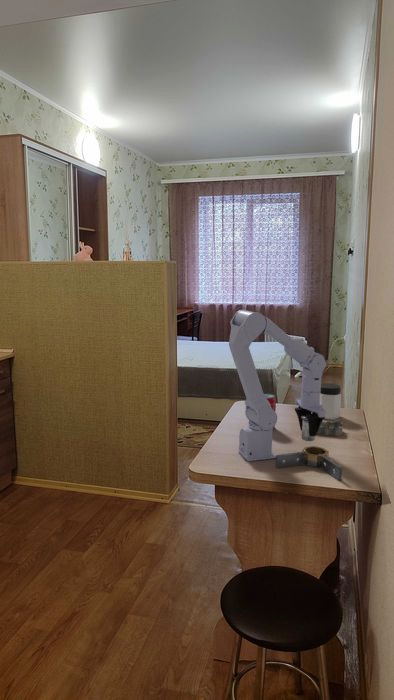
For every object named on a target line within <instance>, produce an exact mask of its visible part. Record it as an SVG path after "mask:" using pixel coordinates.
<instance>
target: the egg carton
mask: <svg viewBox="0 0 394 700" xmlns="http://www.w3.org/2000/svg"><path fill="white" fill-rule="evenodd" d="M343 429H344V426H343V420H342V419H334V420H332V421H331V420H327V421H324V420H323V421H322V423H321V424H320V427H319V429H318V432H317V435H319V434H322V435H327V436H328V435H333V436H335V437H339V436H342V435H343Z"/></svg>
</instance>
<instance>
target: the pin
mask: <svg viewBox="0 0 394 700" xmlns="http://www.w3.org/2000/svg"><path fill="white" fill-rule="evenodd" d="M301 419H303V421H302V431H301V439H302V441H305V442H314V441H315V439H316V438H315V437H316V436H310V435H309V424H308V419H307V416H306V414H305V415H301Z"/></svg>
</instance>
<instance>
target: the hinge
mask: <svg viewBox="0 0 394 700" xmlns="http://www.w3.org/2000/svg"><path fill="white" fill-rule="evenodd" d="M275 455H276V458H275V468H276V469H283V468H290V467H299V466H307V467H310V468H316V469H319V468H320V469H322V470H323V471H324V472H326V473H327V474H329V475H330V476H331V477H333V478H334V479H335V480H337V481H342V478H343V467H342V466H341V465H339V464H338V463H337V462H335V461H333V460H332V459H330V458H329V455H330V451H329V450H327V449H326V448H324V447H320V446H311V445H310V446H306V447H303V448H302V450H301V451H299V452H290V453H282V454H281V453H280V454H275Z"/></svg>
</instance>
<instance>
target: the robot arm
mask: <svg viewBox="0 0 394 700" xmlns="http://www.w3.org/2000/svg"><path fill="white" fill-rule="evenodd" d="M261 334H263V335H267V336H269V338H272V339H273V340H274V341H276V342H278V344H280V345H281V346H283V348H284V350H283V351H284V352H285V354H286V355H288V356H289V357H291V358H292V359H293V360H294V361H296V363H298V365H299V366H300V368H302V374H301V391H300V392H301V395H300V398H299V397H298V398H295V400H294V401H295V402H294V404H295V405H296V406H298V407H295V408H294V411H295V413H296V415H297V419H298V424H299V428H300V431H301V432H302V421H303V419H301V415H305V414H306V416H307V419H308V424H309V435H310V436H315V437H317V436H318V434H317V432H318V429H319V427H320V424H321V423H322V421H323V422H324V420H325V419H324V418H325V417H326V411H325V410H324V409H323V408H322V406H323V404H321V403H320V391H321V384H322V377H323V373H324V371H325V369H326V367H327V362H326V360H325V356H324V355H323V354H321V353H318V352H315V348H314V347H313V346H309V345H308V344H307V343H305V340H304V338H302V337H297V336H295V337H290V336H289V335H288V334H287V333H286V332H285V331H284V330H283V329H281V328H280V327H279V326H278V325H277V324H276V323H275V322H273V321H272V320H271V319H270V318H269V317H267V316H264V315H263V314H262V313H261V312H257V311H255V312H254V311H251V310H247V309H239V310H238V311H236V312H235V313H234V315H233V316H232V318H231V320H230V334H229V341H228V346H229V350H230V353H231V357H232V359H233V363H234V365H235V367H236V371H237V373H238V376H239V380H240V383H241V386H242V389H243V392H244V395H245V397H246V399H245V401H244V405H245V412H244V414H245V417H246V419H248V426H246V427H243V428H240V430H239V441H238V442H239V443H238V451H237V452H238V453H239V455H241V456H242V457H243V458H244V459H245V460H246V461H247V462H254V461H262V460H269V459H270V460H272V459H276V455H277V454H275V453H274V452H273V430H274V429H273V427H274V426H275V427H276V425H277V422H278V415H277V414H278V413H277V412H276V411H274V410H273V409H272V408H271V405H270V403H269V402H268V400H267V399H266V397H265V396H264V394H265V393H264V391H263V390H264V389H263V388H262V385H261V382H260V378H259V376H258V372H257V368H256V365H255V363H254V359H253V356H252V353H251V350H250V346H251V345H252V343H253V342H254V341H255V340H256V339H257V338H258V337H259V336H260V335H261Z"/></svg>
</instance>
